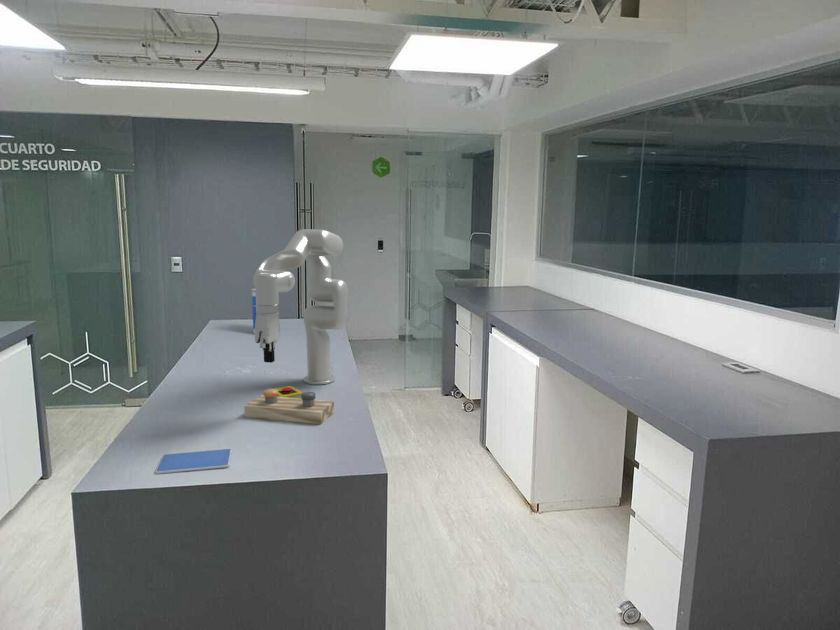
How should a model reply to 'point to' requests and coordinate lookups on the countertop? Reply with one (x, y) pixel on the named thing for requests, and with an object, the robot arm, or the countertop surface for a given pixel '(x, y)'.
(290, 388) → the emergency button
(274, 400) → the orange knob
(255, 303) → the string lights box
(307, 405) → the gray knob
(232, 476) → the countertop surface
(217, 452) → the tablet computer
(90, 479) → the countertop surface
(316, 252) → the robot arm
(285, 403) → the control block
